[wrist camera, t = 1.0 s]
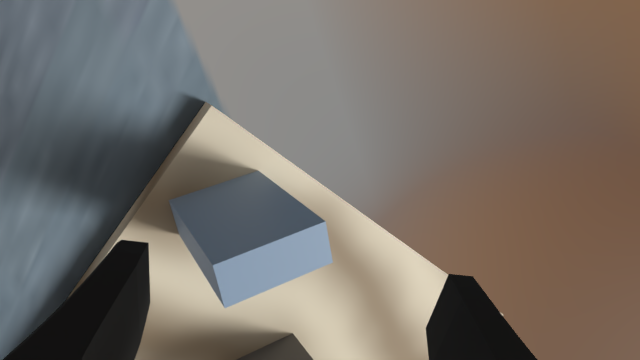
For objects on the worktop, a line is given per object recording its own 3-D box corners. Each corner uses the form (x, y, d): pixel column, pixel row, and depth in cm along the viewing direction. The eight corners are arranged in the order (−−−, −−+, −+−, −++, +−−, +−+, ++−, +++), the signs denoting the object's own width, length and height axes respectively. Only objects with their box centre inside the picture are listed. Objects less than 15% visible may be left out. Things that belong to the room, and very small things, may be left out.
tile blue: (265, 203, 26) (332, 262, 20) (179, 234, 25) (224, 308, 19) (258, 170, 26) (325, 221, 20) (168, 200, 24) (212, 265, 18)
